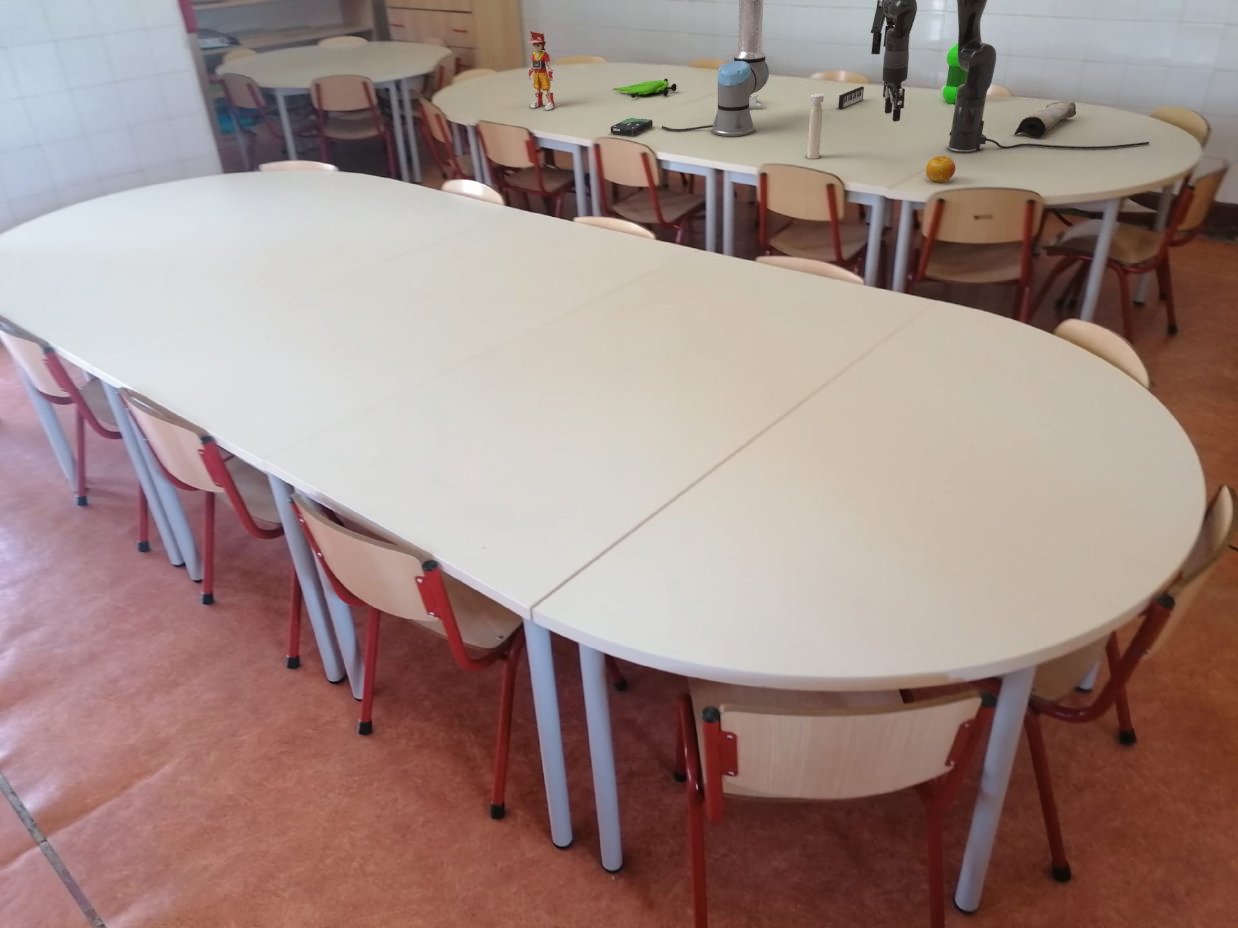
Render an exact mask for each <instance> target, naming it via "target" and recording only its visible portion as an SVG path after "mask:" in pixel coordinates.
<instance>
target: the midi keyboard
mask: <svg viewBox="0 0 1238 928" xmlns="http://www.w3.org/2000/svg"><path fill="white" fill-rule="evenodd" d="M864 91H865V86H862V85H861V86H859V87H857V88H854V89H851V90H849V91H846V92H844V93H842V94H839V96H838V105H837V106H838V107H837V109H839V110H842V109H844V108H846V107H848V106H851V105H852V104H855V103H858V102H859V101H863V100H864Z"/></svg>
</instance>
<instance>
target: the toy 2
mask: <svg viewBox="0 0 1238 928" xmlns="http://www.w3.org/2000/svg"><path fill="white" fill-rule="evenodd" d="M669 85H670V83H669V79H668V78H664V79H663V80H649V81H644V82H640V83H634V84H629V85H627V86H621V87H613V88H612V89H613V90H616V91H619V92H623V93H627V94H628V93H629V94H631V95H630V96H631V98H632V99H634V98H636V96H637V95H650V94H652V93H654V94H658V93H662V95H663V96H665V97H667V96H668V95H669V90H671V91H672V92H676V91H677V84H676V83H672V84H671V86H669Z"/></svg>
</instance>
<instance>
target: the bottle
mask: <svg viewBox="0 0 1238 928" xmlns="http://www.w3.org/2000/svg"><path fill="white" fill-rule="evenodd" d="M823 111H824V110H823V106H822V103H812V104H811V107H810V110H809V118H808V119H809V121H808V136H807V152H806V158H807V159H811V160H812V159H813V160H814V159H818V158H820V153H821V152H820V151H821V141H822V140H821V138H822V126H823V115H824V114H823V113H824V112H823Z"/></svg>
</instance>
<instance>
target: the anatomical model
mask: <svg viewBox="0 0 1238 928" xmlns="http://www.w3.org/2000/svg"><path fill="white" fill-rule="evenodd" d="M758 97H759V94H754V95H752V94H751V95H750V97H749V110H751V109H755V108H762V107H763V104H762V103H758V102H757V101H758Z"/></svg>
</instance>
